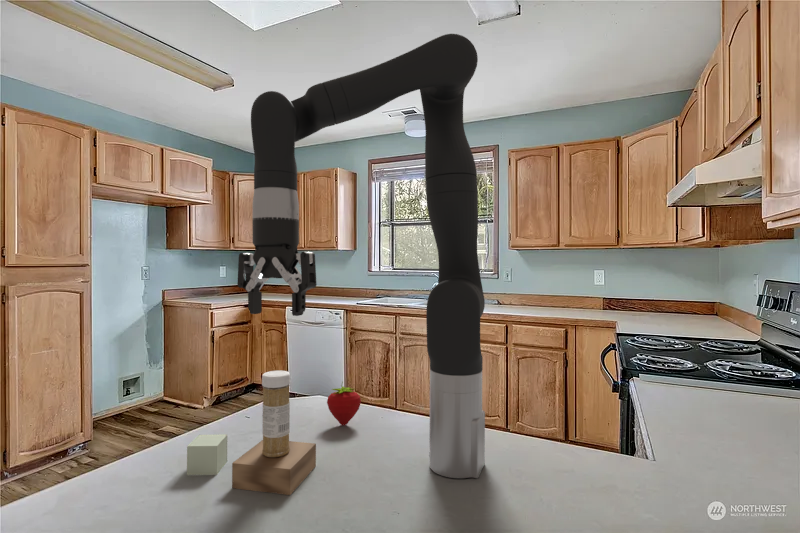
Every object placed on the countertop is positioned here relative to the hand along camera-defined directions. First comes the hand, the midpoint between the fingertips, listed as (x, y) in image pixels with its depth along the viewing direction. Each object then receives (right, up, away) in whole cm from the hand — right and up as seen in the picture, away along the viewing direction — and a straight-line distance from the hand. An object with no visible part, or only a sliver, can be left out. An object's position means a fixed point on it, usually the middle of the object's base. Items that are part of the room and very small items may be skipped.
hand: (276, 314), depth 73 cm
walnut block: (0, -27, 0) cm, 27 cm away
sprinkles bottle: (0, -23, 0) cm, 23 cm away
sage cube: (-13, -27, +3) cm, 30 cm away
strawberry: (+8, -28, +24) cm, 37 cm away
